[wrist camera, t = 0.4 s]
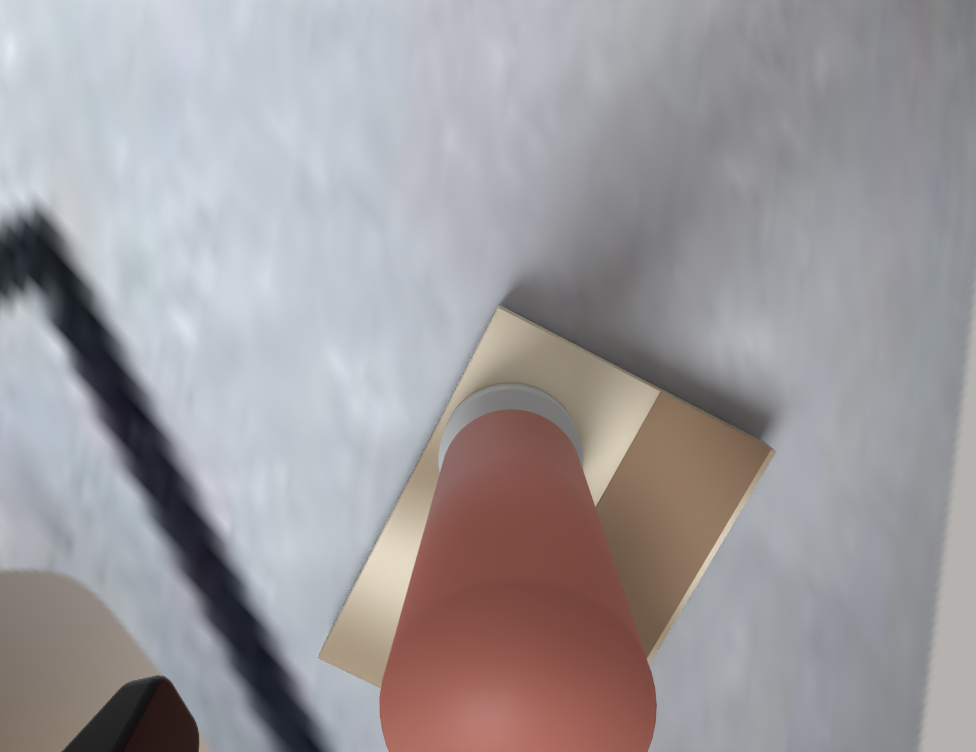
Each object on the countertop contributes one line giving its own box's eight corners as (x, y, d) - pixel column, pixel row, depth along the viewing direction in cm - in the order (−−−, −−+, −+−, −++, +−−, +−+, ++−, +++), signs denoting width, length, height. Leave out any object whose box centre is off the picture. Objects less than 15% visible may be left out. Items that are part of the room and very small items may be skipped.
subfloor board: (575, 759, 27) (578, 785, 25) (326, 638, 26) (317, 659, 25) (763, 441, 25) (777, 452, 23) (498, 304, 24) (498, 308, 23)
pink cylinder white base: (539, 538, 24) (580, 893, 11) (418, 478, 24) (313, 767, 11) (604, 421, 23) (729, 650, 10) (480, 358, 23) (449, 510, 10)
